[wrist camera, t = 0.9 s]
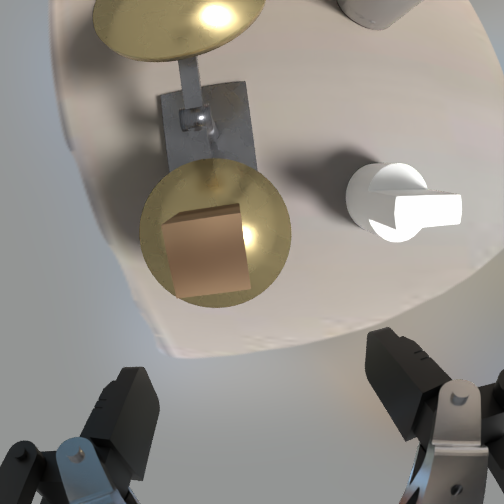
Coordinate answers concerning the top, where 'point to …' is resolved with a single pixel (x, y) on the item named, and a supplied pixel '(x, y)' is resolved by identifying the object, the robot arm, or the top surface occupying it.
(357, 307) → the top surface
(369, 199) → the cylinder with rectangular tab
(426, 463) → the robot arm
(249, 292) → the balance
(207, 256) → the walnut block
